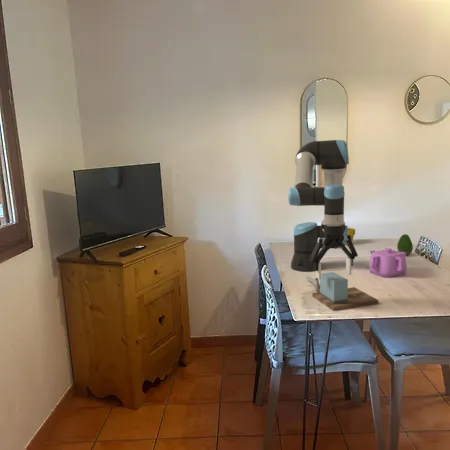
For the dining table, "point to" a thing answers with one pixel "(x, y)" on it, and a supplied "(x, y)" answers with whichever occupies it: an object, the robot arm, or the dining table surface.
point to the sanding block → (334, 287)
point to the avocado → (405, 244)
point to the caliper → (314, 282)
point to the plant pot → (351, 233)
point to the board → (354, 300)
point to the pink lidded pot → (387, 263)
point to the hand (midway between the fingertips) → (333, 276)
